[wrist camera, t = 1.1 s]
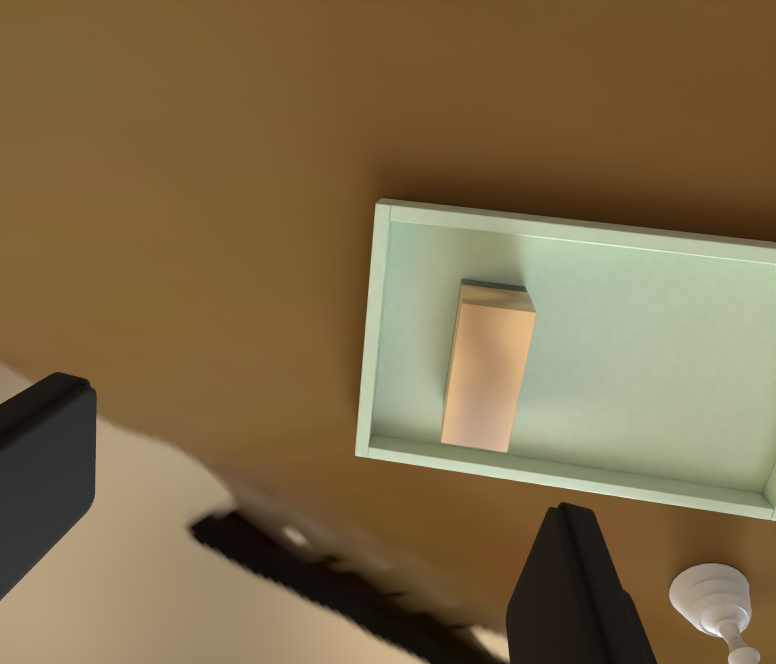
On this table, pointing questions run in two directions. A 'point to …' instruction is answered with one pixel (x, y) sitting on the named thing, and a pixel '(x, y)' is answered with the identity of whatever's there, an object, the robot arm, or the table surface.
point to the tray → (583, 354)
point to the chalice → (716, 605)
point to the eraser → (486, 364)
